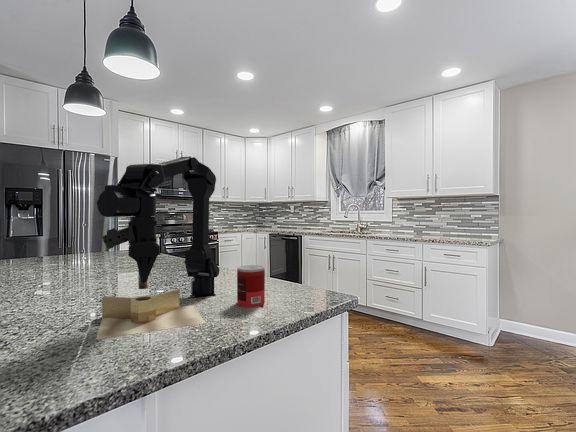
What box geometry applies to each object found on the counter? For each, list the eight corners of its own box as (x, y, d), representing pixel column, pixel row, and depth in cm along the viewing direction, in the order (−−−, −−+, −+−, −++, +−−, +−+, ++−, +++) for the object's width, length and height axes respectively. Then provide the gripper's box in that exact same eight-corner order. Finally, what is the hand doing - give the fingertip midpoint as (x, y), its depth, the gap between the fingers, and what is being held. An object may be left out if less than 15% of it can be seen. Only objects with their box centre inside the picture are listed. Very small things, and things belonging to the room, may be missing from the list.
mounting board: (193, 307, 88) (193, 304, 88) (205, 326, 74) (205, 322, 74) (102, 319, 78) (102, 316, 78) (96, 343, 64) (95, 339, 64)
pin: (148, 286, 78) (148, 254, 77) (148, 288, 76) (148, 255, 75) (138, 287, 77) (138, 254, 76) (138, 289, 75) (138, 255, 74)
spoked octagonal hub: (179, 307, 86) (179, 288, 86) (184, 317, 78) (184, 297, 78) (102, 316, 78) (102, 296, 78) (99, 329, 70) (98, 306, 70)
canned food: (268, 303, 93) (268, 265, 93) (257, 311, 85) (257, 270, 85) (245, 300, 95) (245, 264, 95) (232, 308, 88) (232, 268, 88)
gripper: (107, 216, 81) (107, 277, 81) (100, 217, 64) (101, 294, 64) (154, 215, 86) (155, 273, 86) (160, 217, 69) (160, 288, 69)
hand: (143, 281), depth 76 cm, fingers closed on pin, 2 cm apart
